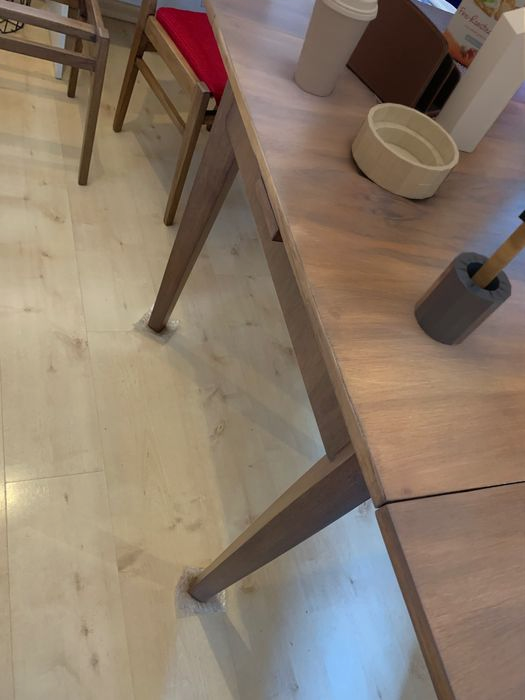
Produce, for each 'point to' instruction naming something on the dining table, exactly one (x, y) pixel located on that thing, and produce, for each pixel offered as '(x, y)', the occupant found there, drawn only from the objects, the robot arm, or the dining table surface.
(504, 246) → the stick
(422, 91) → the letter holder
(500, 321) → the dining table surface
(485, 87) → the milk
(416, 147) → the bowl
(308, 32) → the coffee cup
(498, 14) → the cracker box
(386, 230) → the dining table surface
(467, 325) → the crock
